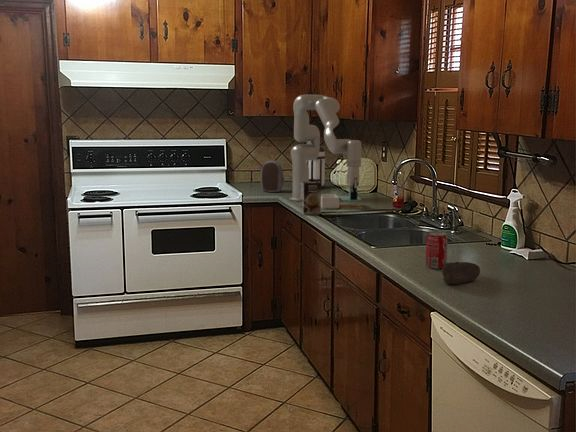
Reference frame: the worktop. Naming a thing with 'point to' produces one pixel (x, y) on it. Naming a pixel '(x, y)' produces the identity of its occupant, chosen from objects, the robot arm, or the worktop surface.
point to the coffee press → (317, 168)
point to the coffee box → (310, 198)
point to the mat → (350, 206)
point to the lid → (348, 198)
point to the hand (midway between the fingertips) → (353, 198)
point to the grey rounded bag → (272, 176)
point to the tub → (329, 201)
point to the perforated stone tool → (460, 272)
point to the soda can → (436, 250)
